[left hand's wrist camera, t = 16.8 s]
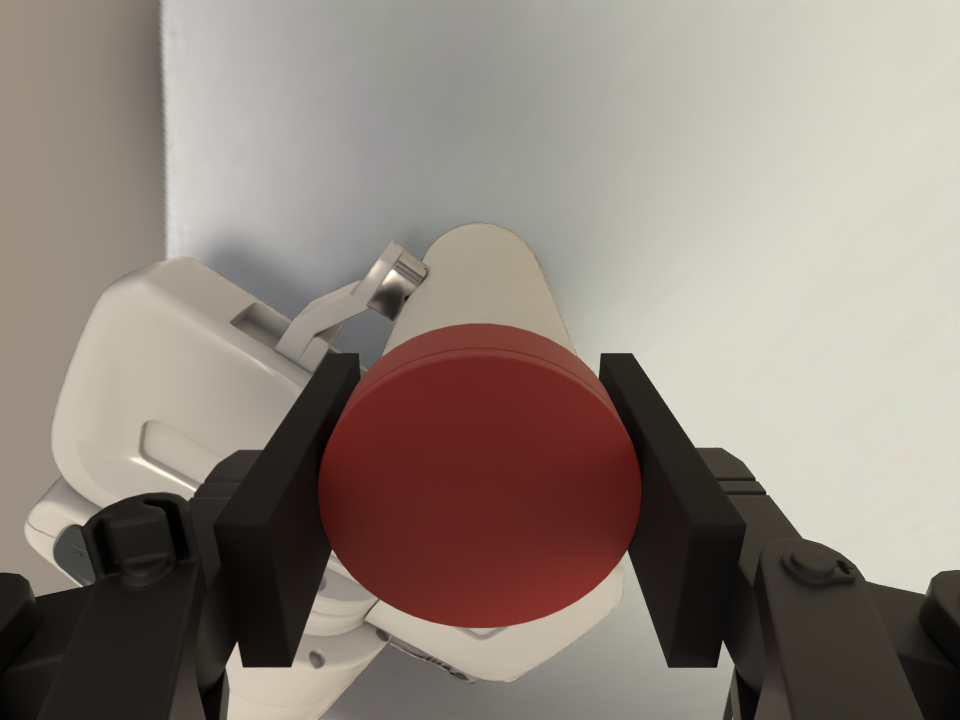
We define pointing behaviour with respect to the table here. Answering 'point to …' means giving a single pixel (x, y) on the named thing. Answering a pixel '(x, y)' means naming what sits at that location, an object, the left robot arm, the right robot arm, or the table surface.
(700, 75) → the table surface
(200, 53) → the table surface
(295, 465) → the left robot arm
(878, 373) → the table surface
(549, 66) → the table surface
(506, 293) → the jar
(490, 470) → the lid
